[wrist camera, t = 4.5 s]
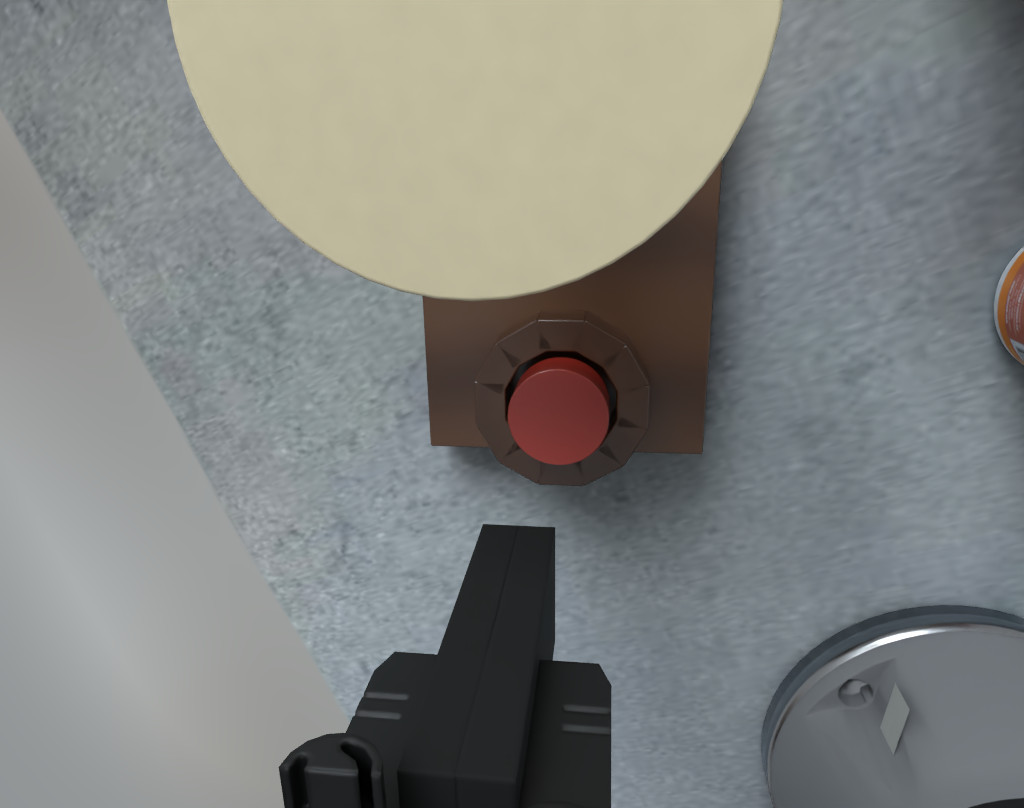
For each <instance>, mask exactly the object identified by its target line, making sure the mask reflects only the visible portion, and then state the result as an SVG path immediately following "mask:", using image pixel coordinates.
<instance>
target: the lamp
mask: <svg viewBox="0 0 1024 808" xmlns="http://www.w3.org/2000/svg"><path fill="white" fill-rule="evenodd" d="M167 3H168V8H169V13H170V18H171V23H172V28H173V33H174V38H175V43H176V47H177V50H178V53H179V56H180V60H181V63H182V66H183V69H184V72H185V75H186V79H187V82H188V85H189V87H190V90H191V92H192V94H193V97H194V99H195V101H196V103H197V106H198V108H199V110H200V113H201V115H202V117H203V119H204V122H205V124H206V126H207V127H208V129H209V131H210V133H211V134H212V136H213V138H214V140H215V141H216V143H217V145H218V146H219V148H220V150H221V152H222V153H223V155H224V157H225V159H226V160H227V161H228V163H229V164H230V165H231V167H232V168H233V169H234V171H235V172H236V174H237V175H238V176H239V178H240V179H241V180H242V182H243V183H244V184H245V186H246V187H247V188H248V190H249V191H250V192H251V193H252V194H253V195H254V196H255V198H256V199H257V200H258V201H259V202H260V203H261V204H262V205H263V206H264V207H265V208H266V209H267V210H268V211H269V213H270V214H271V215H272V216H273V217H274V218H275V219H276V220H277V221H278V222H280V223H281V224H282V225H283V226H284V227H285V228H287V229H288V230H289V231H290V232H291V233H293V234H294V235H295V236H296V237H297V238H298V239H300V240H301V241H302V242H303V243H304V244H306V245H307V246H309V247H310V248H312V249H313V250H315V251H316V252H318V253H320V254H321V255H323V256H324V257H326V258H327V259H329V260H330V261H332V262H333V263H335V264H337V265H339V266H341V267H343V268H345V269H347V270H349V271H351V272H353V273H355V274H357V275H359V276H361V277H363V278H365V279H367V280H370V281H373V282H376V283H378V284H381V285H384V286H387V287H390V288H393V289H396V290H399V291H402V292H407V293H412V294H416V295H421V296H426V297H431V298H436V299H449V300H463V301H482V300H499V299H510V298H515V297H520V296H525V295H530V294H536V293H541V292H545V291H548V290H551V289H554V288H557V287H560V286H563V285H566V284H569V283H572V282H575V281H578V280H580V279H582V278H584V277H586V276H588V275H590V274H592V273H594V272H596V271H598V270H600V269H602V268H604V267H607V266H609V265H611V264H613V263H614V262H616V261H617V260H619V259H620V258H622V257H623V256H625V255H626V254H628V253H629V252H631V251H632V250H634V249H635V248H637V247H638V246H640V245H642V244H643V243H645V242H646V241H647V240H648V239H649V238H651V237H652V236H653V235H654V234H655V233H656V232H658V231H659V230H660V229H661V228H662V227H663V226H665V225H666V224H667V223H668V222H669V221H670V220H672V219H673V218H674V217H675V216H676V215H677V214H678V213H679V212H680V211H681V210H682V209H683V208H684V206H685V205H686V204H687V203H688V202H689V201H690V200H691V199H692V198H693V197H694V195H695V194H696V193H697V192H698V191H699V190H700V189H701V188H702V187H703V186H704V184H705V183H706V182H707V180H708V179H709V177H710V176H711V175H712V173H713V172H714V170H715V169H716V168H717V166H718V165H719V163H720V162H721V160H722V159H723V158H724V156H725V155H726V153H727V152H728V151H729V149H730V147H731V145H732V144H733V142H734V140H735V138H736V136H737V134H738V133H739V131H740V129H741V127H742V125H743V123H744V122H745V120H746V118H747V116H748V114H749V112H750V111H751V108H752V106H753V103H754V101H755V98H756V96H757V93H758V91H759V88H760V86H761V83H762V81H763V78H764V76H765V73H766V71H767V68H768V65H769V61H770V58H771V54H772V50H773V46H774V43H775V39H776V35H777V32H778V28H779V24H780V20H781V13H782V6H783V0H167Z"/></svg>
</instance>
